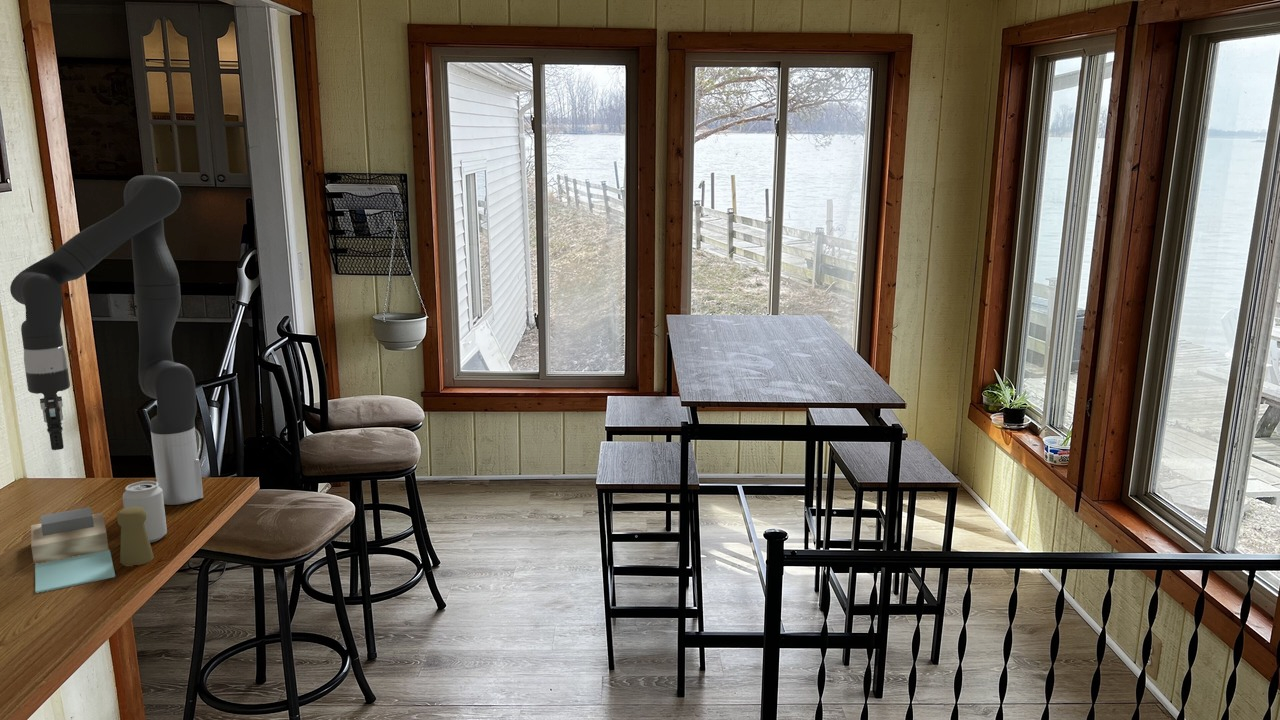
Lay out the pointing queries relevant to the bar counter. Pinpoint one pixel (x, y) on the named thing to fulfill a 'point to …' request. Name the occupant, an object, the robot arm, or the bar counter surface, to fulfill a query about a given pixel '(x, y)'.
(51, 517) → the grey rectangular block
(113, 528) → the bar counter surface
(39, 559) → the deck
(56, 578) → the mat
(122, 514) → the cork
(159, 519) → the can
